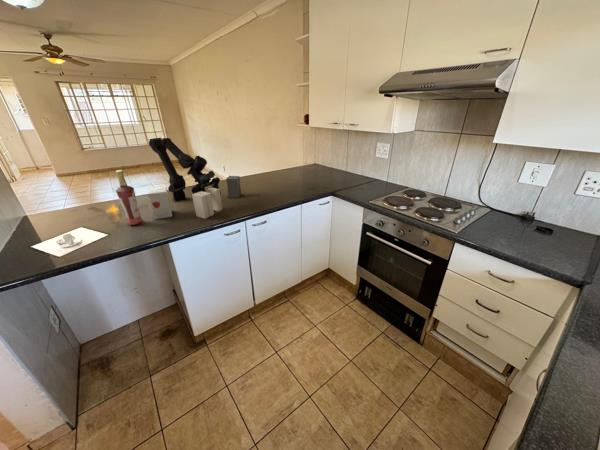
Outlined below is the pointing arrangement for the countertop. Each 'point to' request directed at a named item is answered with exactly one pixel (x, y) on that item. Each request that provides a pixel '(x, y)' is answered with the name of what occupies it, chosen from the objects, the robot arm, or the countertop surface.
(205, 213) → the white book
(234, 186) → the grey book
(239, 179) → the grey book
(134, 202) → the liquor
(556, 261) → the countertop surface
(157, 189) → the white product box
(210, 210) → the white book
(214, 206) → the white book
